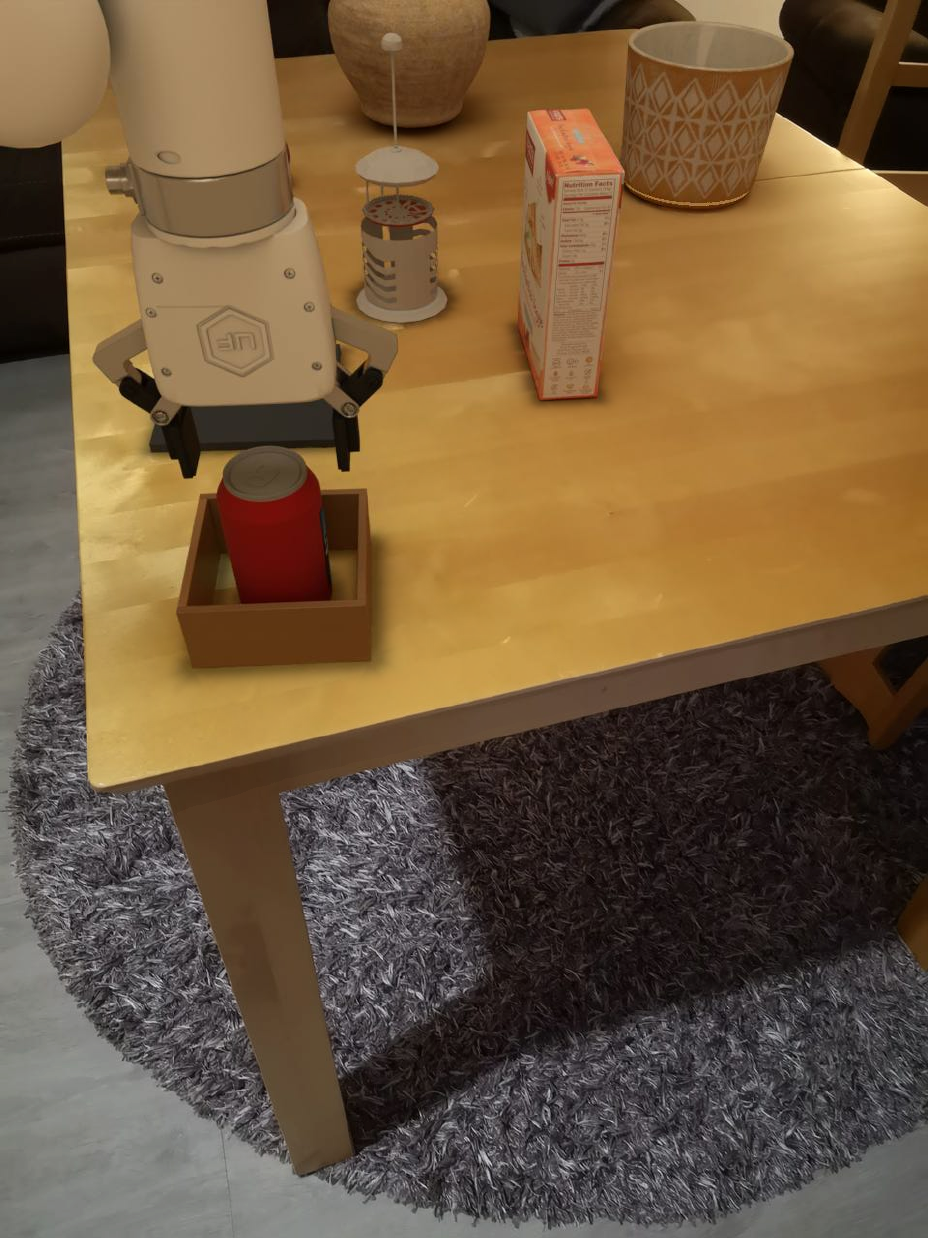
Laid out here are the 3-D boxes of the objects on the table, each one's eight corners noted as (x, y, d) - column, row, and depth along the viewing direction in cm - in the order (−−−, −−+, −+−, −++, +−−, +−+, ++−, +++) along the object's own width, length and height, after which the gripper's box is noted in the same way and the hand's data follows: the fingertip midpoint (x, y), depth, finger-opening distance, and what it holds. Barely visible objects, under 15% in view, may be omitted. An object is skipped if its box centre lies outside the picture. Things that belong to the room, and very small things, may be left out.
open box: (192, 668, 64) (175, 612, 60) (213, 549, 72) (200, 493, 68) (371, 660, 64) (365, 605, 60) (371, 543, 73) (366, 487, 69)
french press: (376, 330, 95) (358, 54, 77) (337, 281, 102) (313, 19, 84) (462, 311, 98) (465, 41, 80) (419, 264, 105) (413, 7, 87)
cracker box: (513, 327, 96) (524, 106, 81) (570, 324, 96) (592, 105, 81) (534, 403, 86) (552, 169, 71) (598, 399, 87) (629, 167, 72)
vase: (451, 86, 148) (452, -157, 126) (513, 134, 134) (525, -131, 112) (316, 104, 141) (292, -150, 119) (366, 156, 127) (349, -120, 105)
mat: (150, 452, 80) (148, 444, 80) (177, 354, 91) (175, 347, 91) (336, 446, 81) (335, 438, 81) (340, 350, 92) (339, 343, 92)
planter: (745, 228, 113) (780, 78, 101) (593, 202, 118) (609, 55, 106) (770, 171, 125) (804, 31, 113) (631, 149, 130) (650, 13, 118)
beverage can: (350, 586, 69) (337, 455, 61) (303, 647, 65) (280, 515, 56) (274, 560, 71) (250, 429, 62) (222, 617, 67) (189, 485, 58)
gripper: (21, 225, 44) (121, 506, 56) (389, 213, 44) (406, 493, 57) (58, 163, 49) (142, 433, 61) (387, 153, 50) (403, 422, 62)
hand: (269, 461), depth 59 cm, fingers open, 9 cm apart
